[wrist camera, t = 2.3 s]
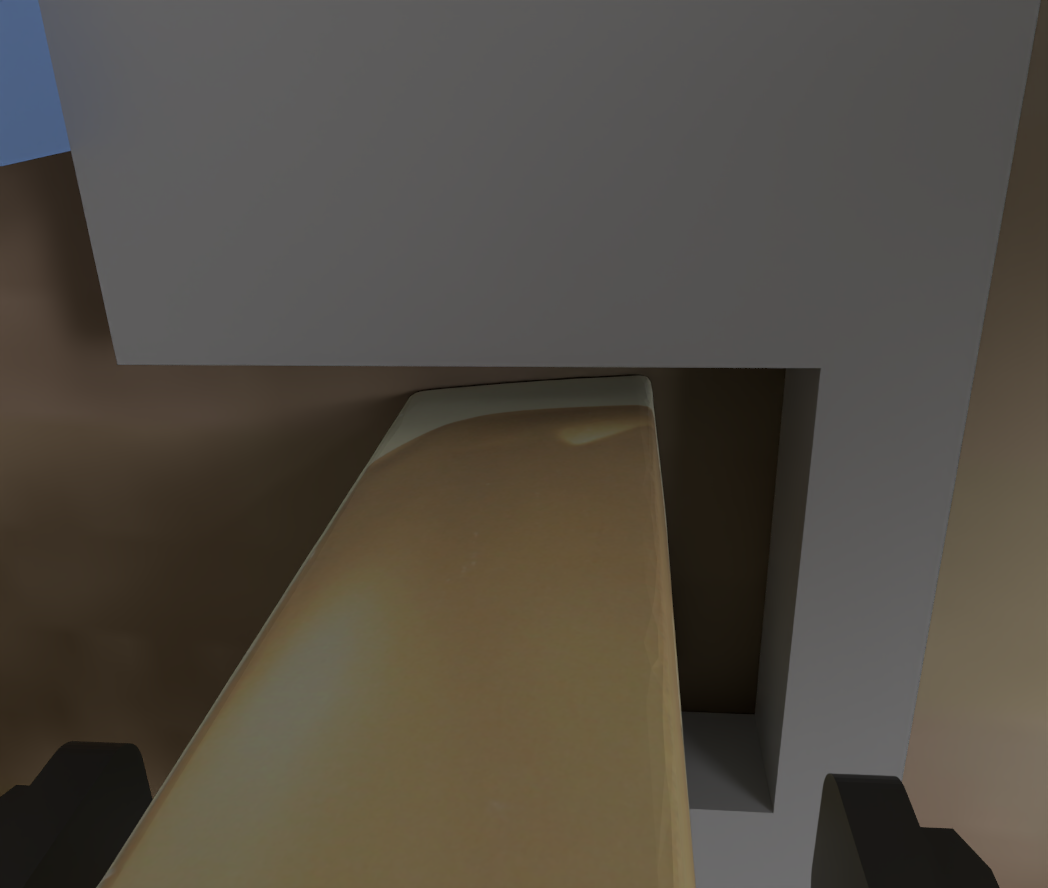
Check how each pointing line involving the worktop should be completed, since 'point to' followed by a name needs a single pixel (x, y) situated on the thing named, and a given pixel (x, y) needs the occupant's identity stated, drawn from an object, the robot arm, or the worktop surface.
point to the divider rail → (591, 264)
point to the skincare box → (456, 672)
